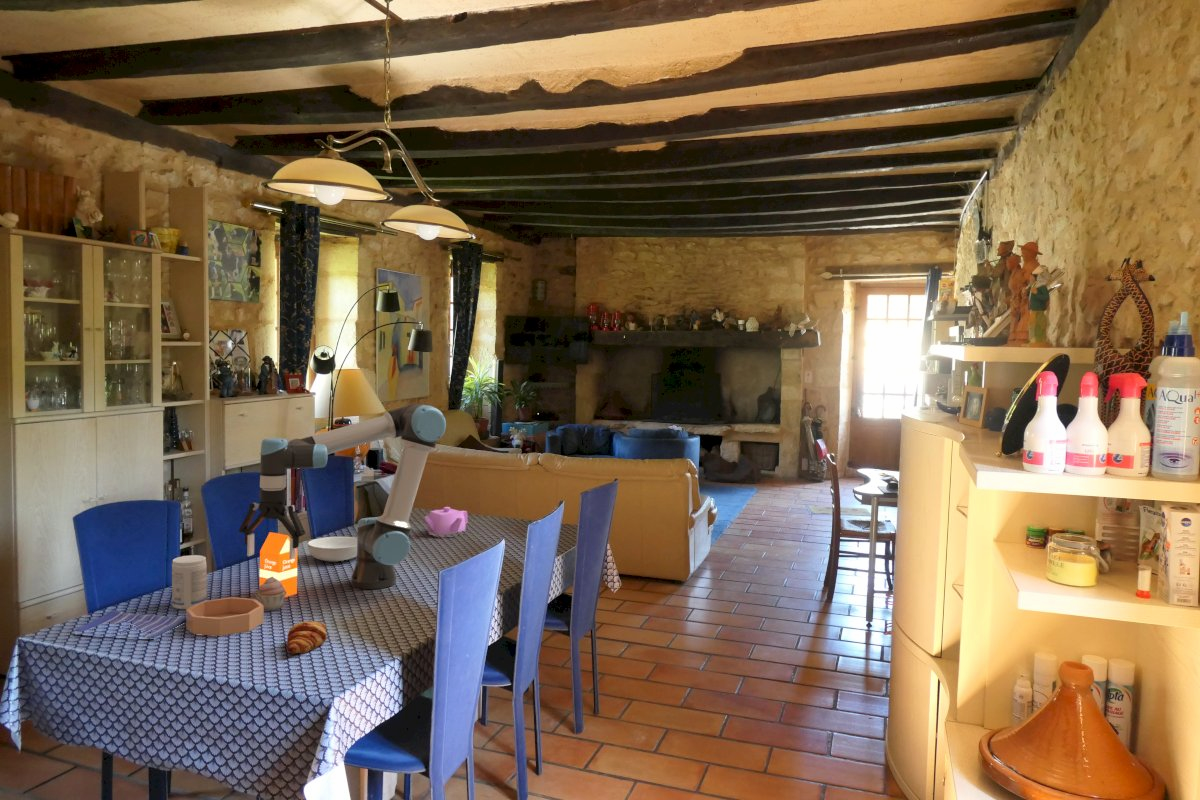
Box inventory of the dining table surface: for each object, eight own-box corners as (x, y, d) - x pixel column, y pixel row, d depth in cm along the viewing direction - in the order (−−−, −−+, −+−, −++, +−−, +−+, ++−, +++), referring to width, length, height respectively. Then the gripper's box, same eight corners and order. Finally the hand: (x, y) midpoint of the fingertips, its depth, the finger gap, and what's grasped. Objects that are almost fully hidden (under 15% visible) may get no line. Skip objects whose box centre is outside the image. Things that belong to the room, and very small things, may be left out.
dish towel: (112, 617, 239) (112, 608, 239) (189, 622, 238) (190, 613, 238) (70, 637, 222) (70, 627, 222) (153, 643, 221) (154, 632, 220)
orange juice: (277, 589, 272) (278, 530, 271) (297, 593, 268) (298, 533, 267) (258, 594, 265) (259, 534, 264) (278, 599, 261) (279, 537, 260)
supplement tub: (206, 599, 258) (207, 553, 257) (206, 608, 249) (207, 561, 249) (172, 602, 254) (172, 556, 253) (170, 611, 245) (171, 563, 244)
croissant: (312, 643, 233) (299, 618, 233) (343, 628, 233) (331, 603, 233) (280, 669, 212) (267, 642, 212) (314, 653, 212) (301, 626, 212)
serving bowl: (372, 554, 323) (372, 537, 322) (351, 567, 302) (351, 549, 301) (321, 551, 325) (322, 534, 324) (297, 564, 304) (297, 546, 303)
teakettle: (468, 531, 371) (469, 504, 370) (461, 539, 354) (462, 511, 353) (431, 529, 371) (432, 503, 371) (422, 538, 354) (423, 510, 354)
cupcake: (276, 614, 247) (276, 581, 246) (248, 611, 248) (248, 579, 248) (293, 605, 256) (293, 573, 255) (266, 602, 257) (266, 571, 257)
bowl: (272, 616, 244) (273, 600, 244) (238, 638, 225) (238, 620, 225) (212, 612, 246) (213, 595, 246) (173, 633, 227) (174, 615, 227)
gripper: (317, 489, 252) (315, 556, 254) (241, 484, 255) (239, 551, 256) (306, 492, 245) (304, 562, 246) (227, 488, 248) (226, 556, 249)
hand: (271, 556), depth 251 cm, fingers open, 13 cm apart
